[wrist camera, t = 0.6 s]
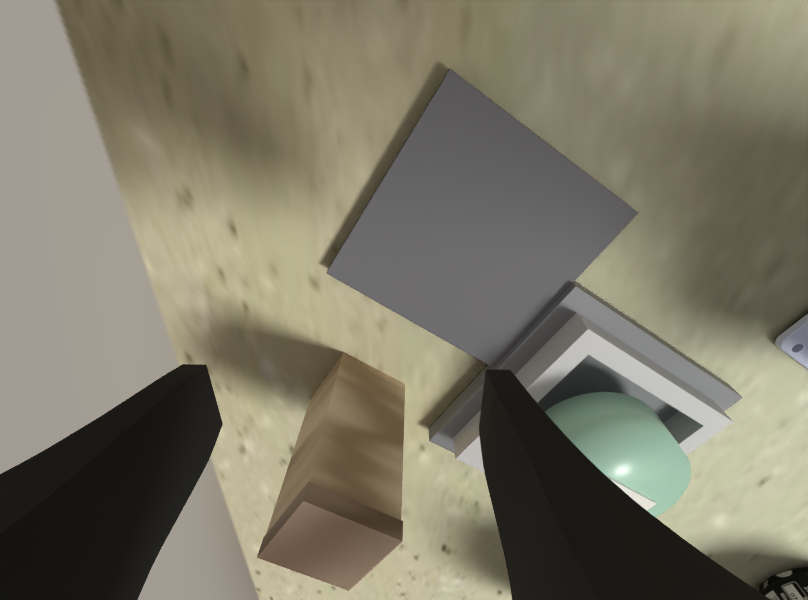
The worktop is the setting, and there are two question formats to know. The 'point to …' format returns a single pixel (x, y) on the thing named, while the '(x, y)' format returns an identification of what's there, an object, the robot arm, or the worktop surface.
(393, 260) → the mat
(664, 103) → the worktop surface
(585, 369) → the switch panel
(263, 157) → the worktop surface
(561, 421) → the button
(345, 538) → the wooden rectangular block
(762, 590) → the beverage can
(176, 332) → the worktop surface
